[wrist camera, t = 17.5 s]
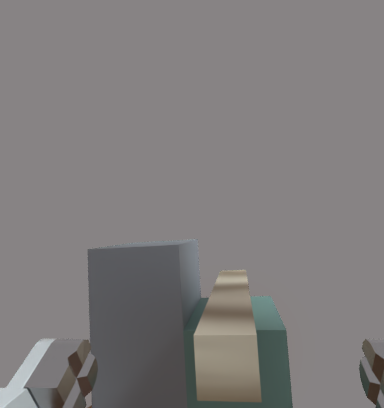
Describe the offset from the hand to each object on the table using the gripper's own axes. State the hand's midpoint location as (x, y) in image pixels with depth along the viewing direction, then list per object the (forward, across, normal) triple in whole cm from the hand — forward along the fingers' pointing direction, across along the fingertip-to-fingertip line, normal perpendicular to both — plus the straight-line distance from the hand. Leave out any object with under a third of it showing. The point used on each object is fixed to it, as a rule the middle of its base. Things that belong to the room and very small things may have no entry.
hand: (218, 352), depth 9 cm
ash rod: (+10, 0, +9) cm, 13 cm away
